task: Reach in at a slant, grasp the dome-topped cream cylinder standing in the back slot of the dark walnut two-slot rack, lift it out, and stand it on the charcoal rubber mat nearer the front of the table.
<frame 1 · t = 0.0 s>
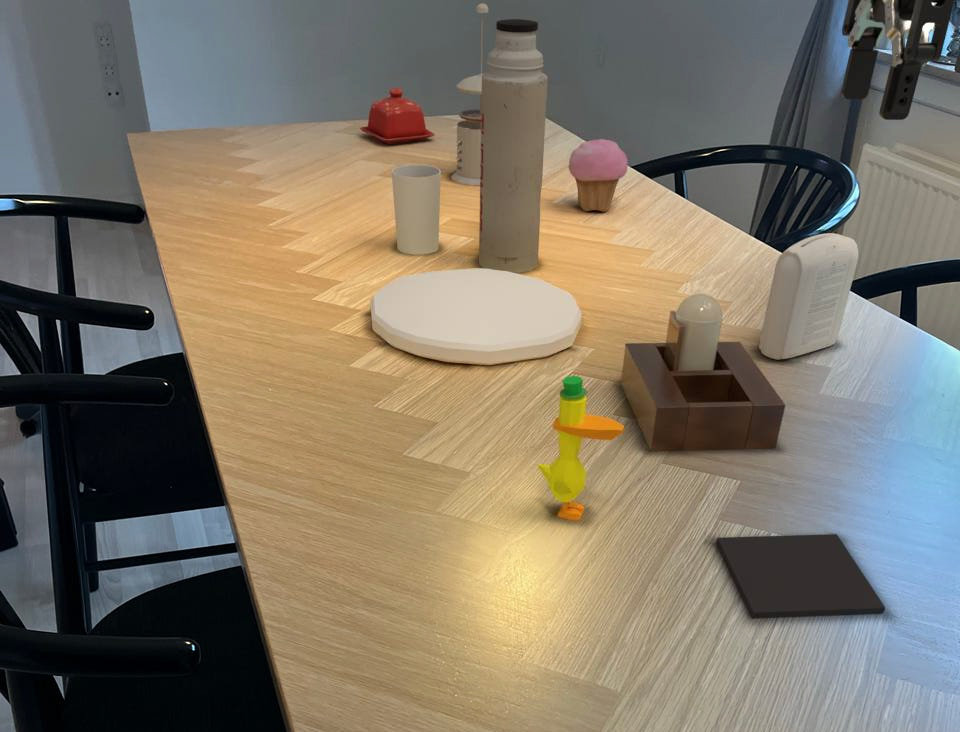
hand: (872, 108, 83), 27 cm above the table, tool pointing down, fingers open, 8 cm apart
butter dish: (397, 139, 188), on the table
photo printer: (796, 350, 111), on the table
cupcake: (593, 211, 153), on the table
thermos bottle: (508, 265, 132), on the table
mat: (795, 577, 76), on the table
decorative plate: (475, 324, 116), on the table
drinking glass: (417, 249, 137), on the table
french press: (481, 177, 167), on the table
rack: (694, 415, 97), on the table
dome-topped cream cylinder: (685, 399, 100), resting in rack
toy figure: (572, 516, 83), on the table
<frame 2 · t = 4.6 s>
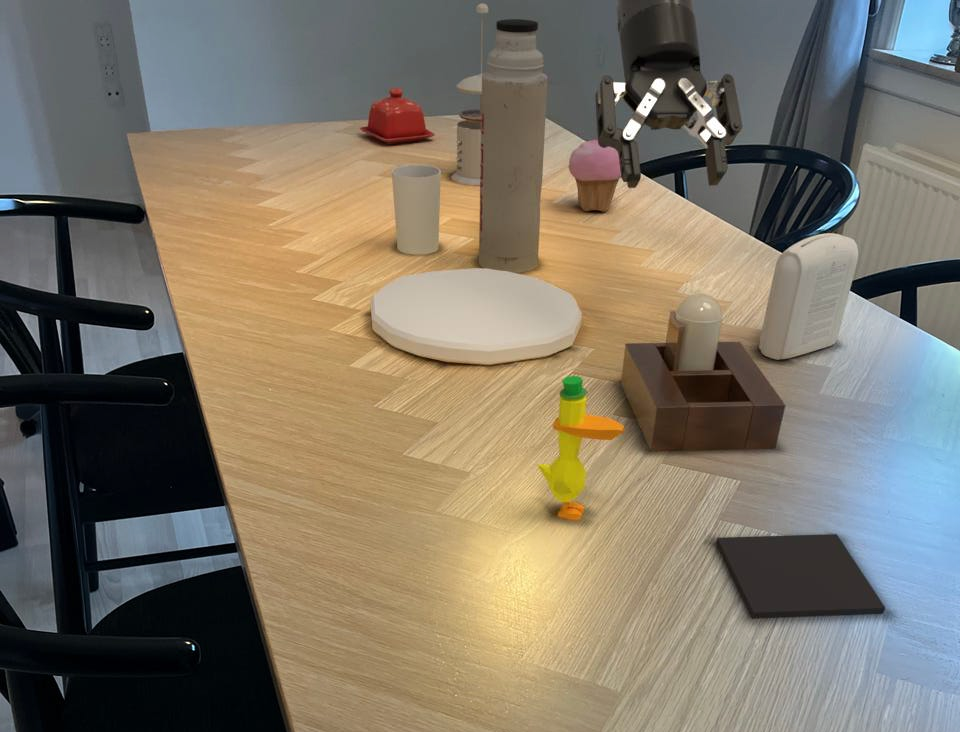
hand: (676, 182, 97), 18 cm above the table, tool tilted 45°, fingers open, 8 cm apart
nothing on the table moved.
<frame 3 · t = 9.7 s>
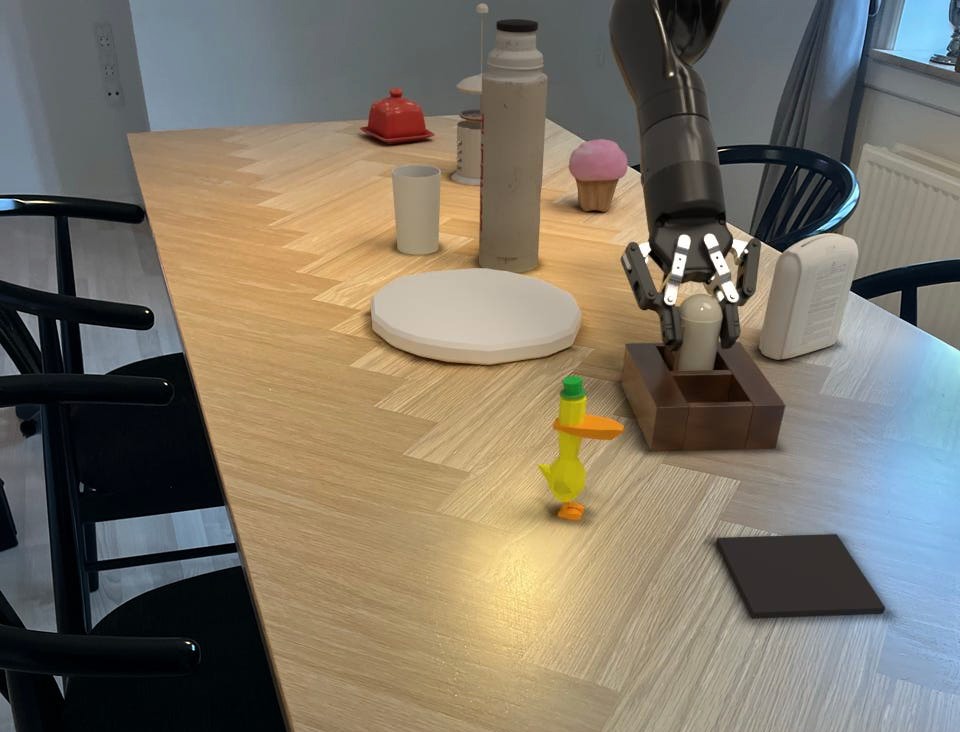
hand: (703, 346, 94), 7 cm above the table, tool tilted 45°, fingers closed on dome-topped cream cylinder, 4 cm apart
dome-topped cream cylinder: (685, 399, 100), resting in rack, touching gripper
everything else where it was.
when the fingers open (7 cm above the table, at t = 21.6 s): dome-topped cream cylinder stays where it is, resting on mat.
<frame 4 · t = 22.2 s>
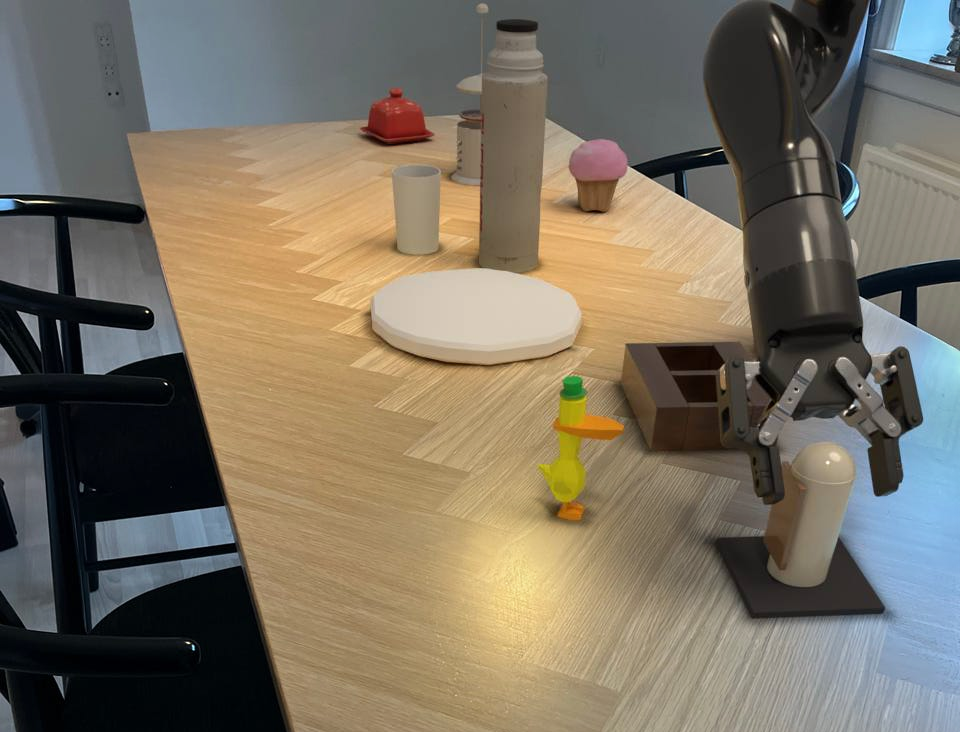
hand: (831, 498, 69), 8 cm above the table, tool tilted 45°, fingers open, 8 cm apart
dome-topped cream cylinder: (796, 570, 76), point 1 cm above the table, touching mat
everything else where it was.
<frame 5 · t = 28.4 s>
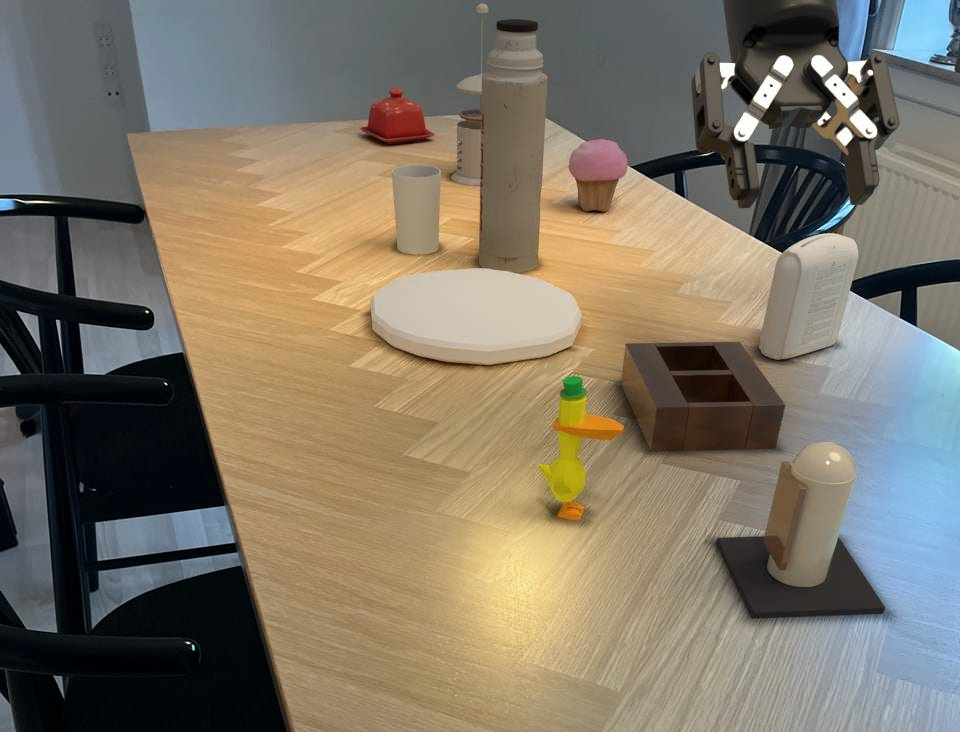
hand: (807, 201, 69), 25 cm above the table, tool tilted 45°, fingers open, 8 cm apart
nothing on the table moved.
at the end: dome-topped cream cylinder inside the target area on the mat (0.1 cm from its centre), point 0.6 cm above the mat's base; dome-topped cream cylinder tilted 0°; dome-topped cream cylinder touching mat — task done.
